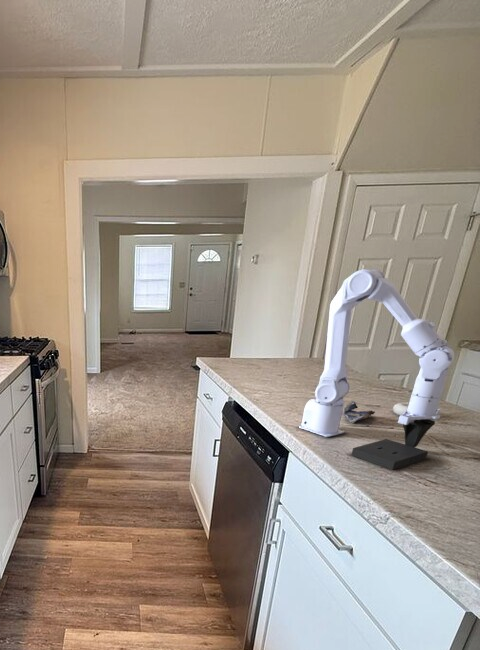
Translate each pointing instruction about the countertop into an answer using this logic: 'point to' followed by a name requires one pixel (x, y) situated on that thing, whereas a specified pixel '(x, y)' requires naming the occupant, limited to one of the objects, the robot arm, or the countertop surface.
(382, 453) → the base pad
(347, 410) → the snack package
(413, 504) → the countertop surface
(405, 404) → the donut
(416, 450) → the tab pad
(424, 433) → the robot arm
